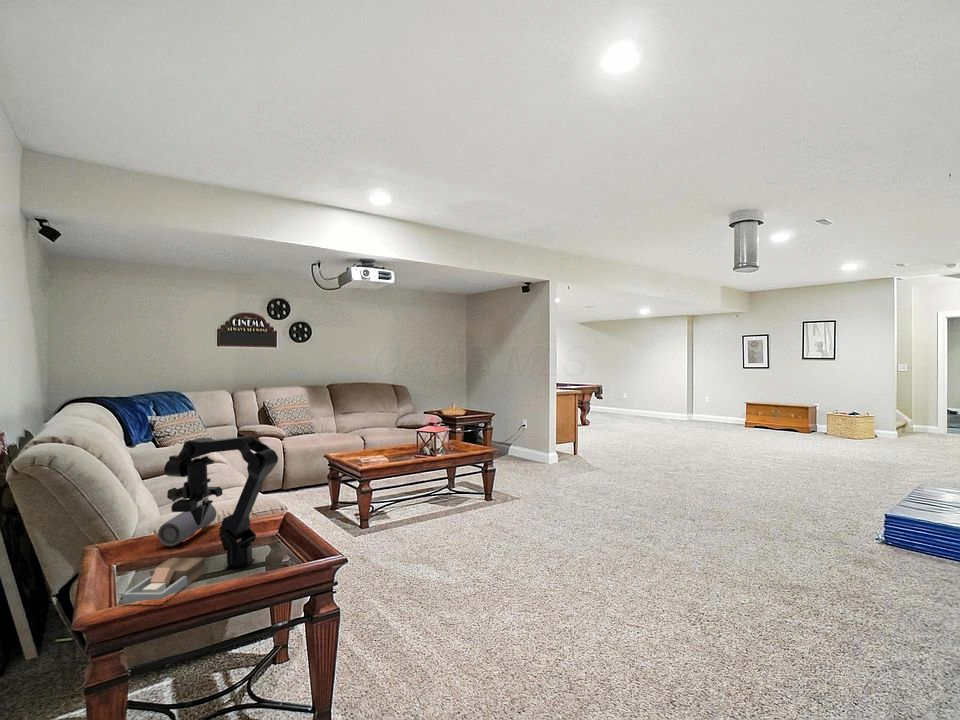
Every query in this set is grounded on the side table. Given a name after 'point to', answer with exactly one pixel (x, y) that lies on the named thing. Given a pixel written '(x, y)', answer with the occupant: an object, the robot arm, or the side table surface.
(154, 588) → the tile front
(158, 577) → the tile rear
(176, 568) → the stepped beige slab
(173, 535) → the bluetooth speaker
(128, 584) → the side table surface
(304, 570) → the side table surface
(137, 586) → the tray
